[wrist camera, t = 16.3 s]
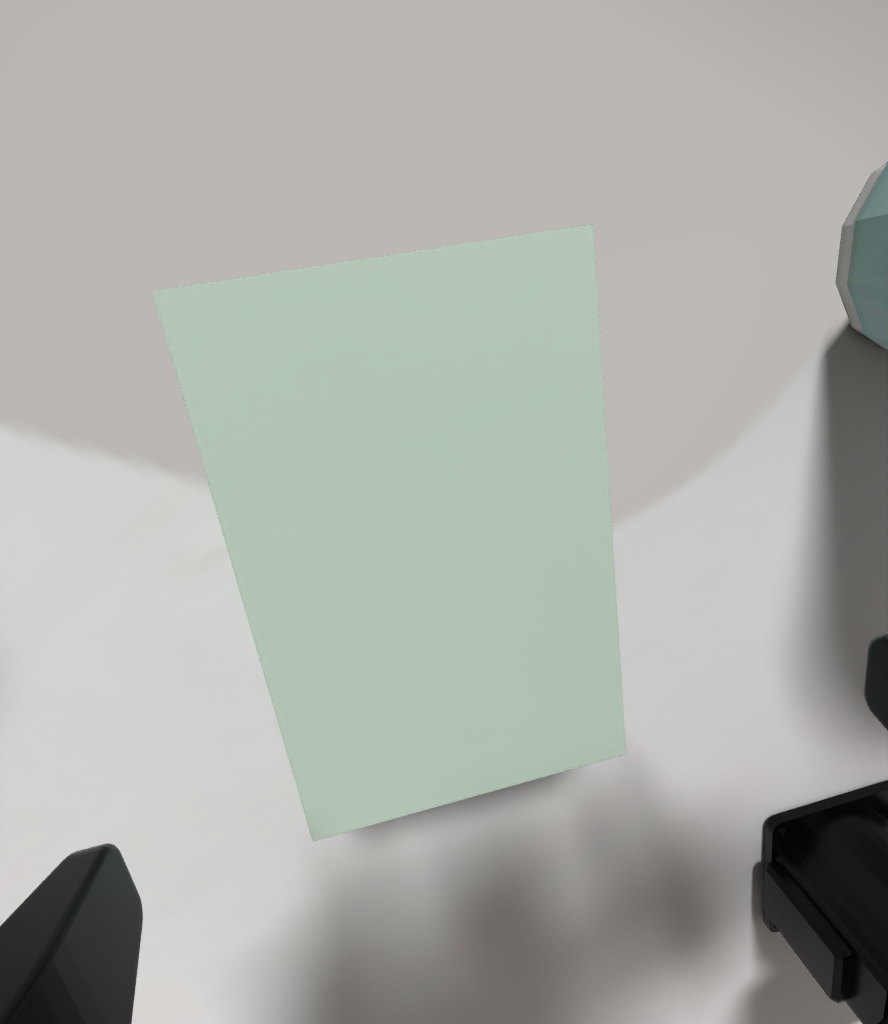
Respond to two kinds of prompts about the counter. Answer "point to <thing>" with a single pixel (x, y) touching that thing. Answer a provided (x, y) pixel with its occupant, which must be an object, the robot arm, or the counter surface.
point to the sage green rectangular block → (415, 514)
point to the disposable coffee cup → (866, 260)
